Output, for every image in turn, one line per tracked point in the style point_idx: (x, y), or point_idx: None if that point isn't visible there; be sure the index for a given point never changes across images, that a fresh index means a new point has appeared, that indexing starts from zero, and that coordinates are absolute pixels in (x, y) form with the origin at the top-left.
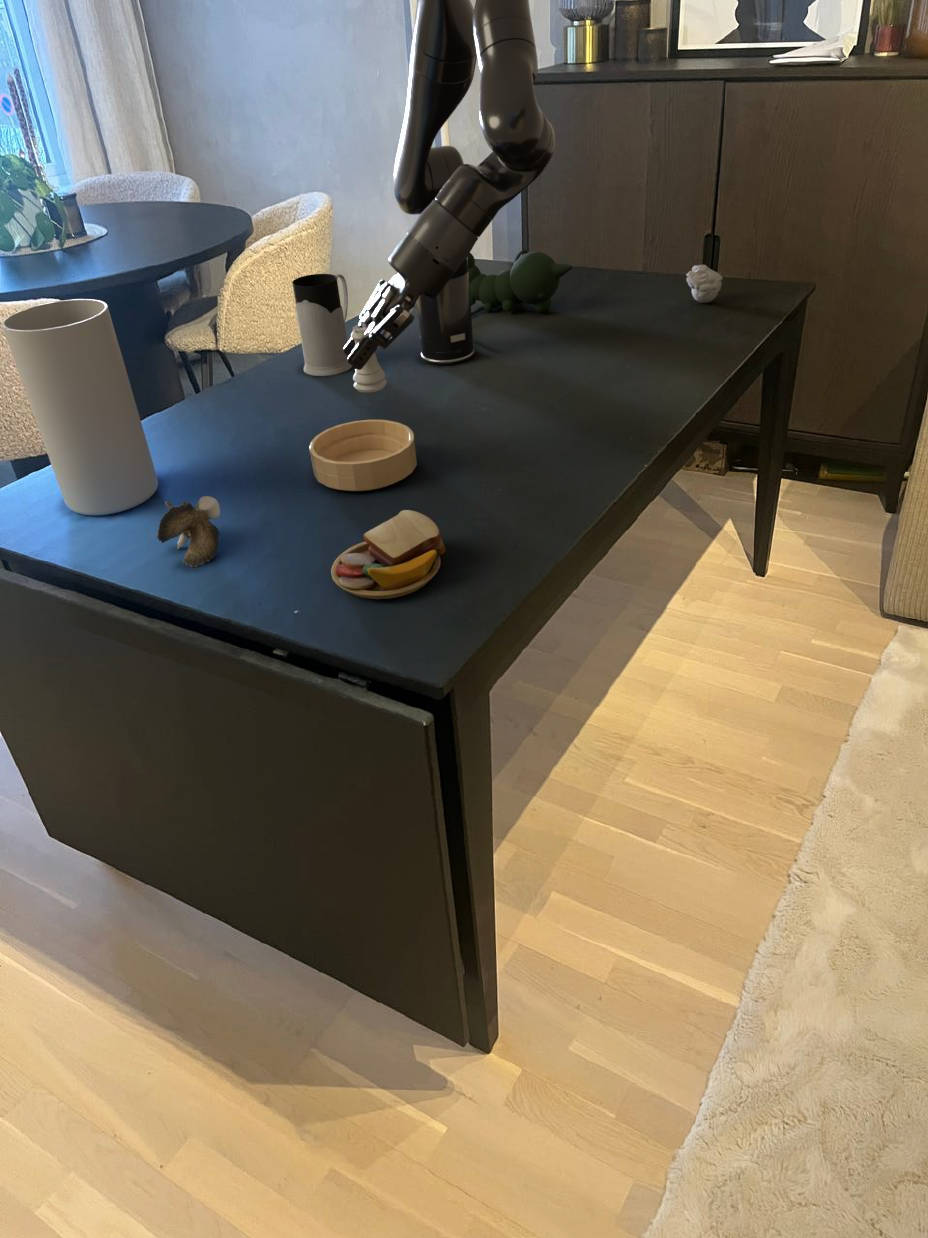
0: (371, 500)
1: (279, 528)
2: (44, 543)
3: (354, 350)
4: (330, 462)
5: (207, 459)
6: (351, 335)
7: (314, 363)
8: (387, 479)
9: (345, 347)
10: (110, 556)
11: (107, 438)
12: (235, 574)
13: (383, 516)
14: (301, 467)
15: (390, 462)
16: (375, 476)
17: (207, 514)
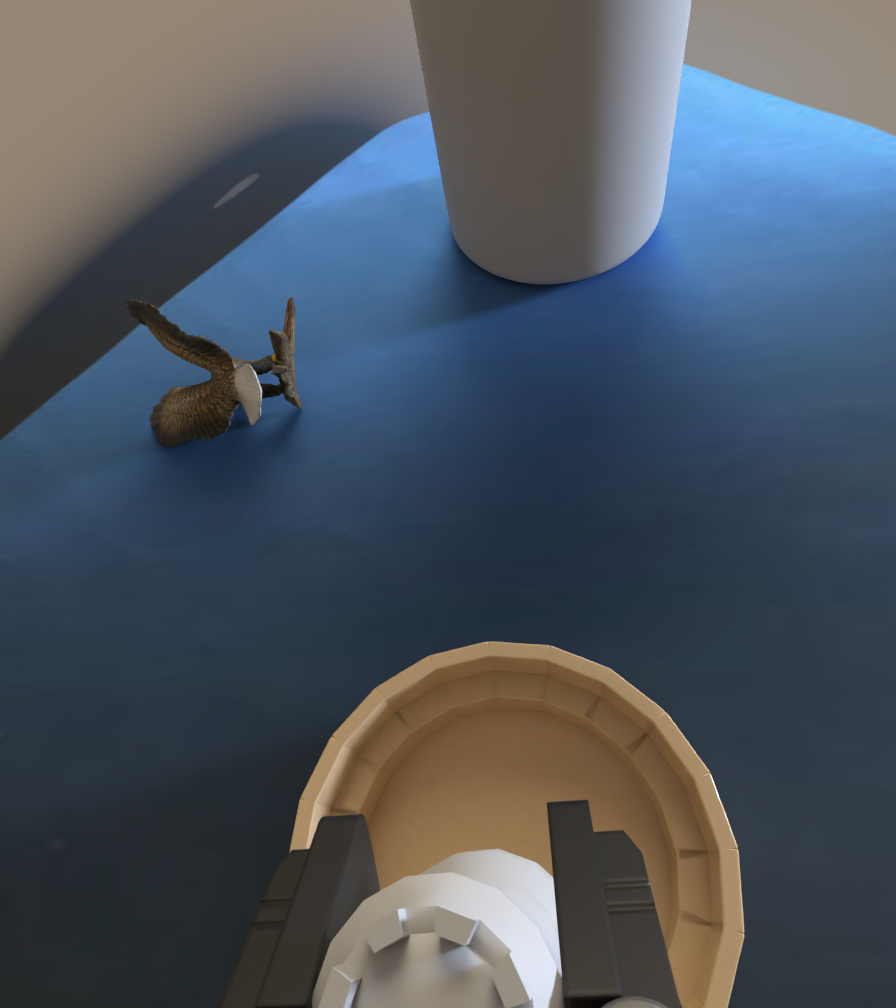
0: (281, 858)
1: (236, 576)
2: (381, 162)
3: (300, 883)
4: (351, 715)
5: (728, 366)
6: (422, 882)
7: None
8: None
9: (548, 817)
10: (278, 267)
11: (433, 83)
12: (80, 493)
13: (160, 887)
14: (604, 631)
15: None
16: None
17: (235, 395)
